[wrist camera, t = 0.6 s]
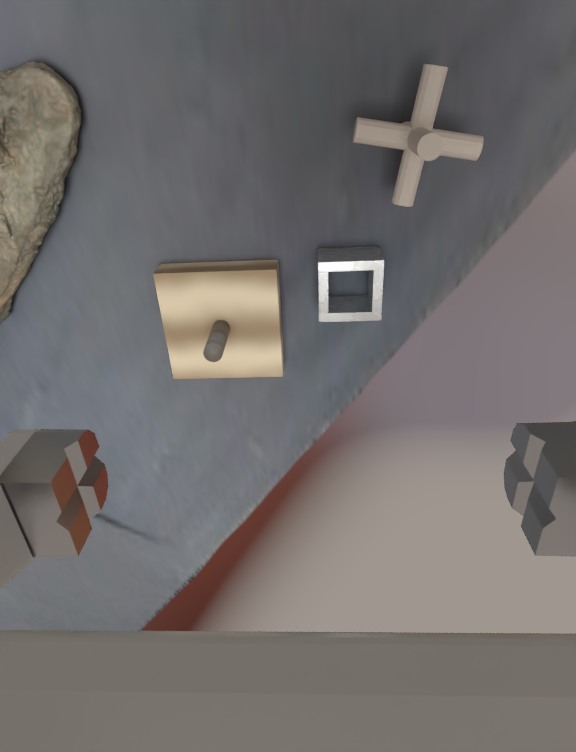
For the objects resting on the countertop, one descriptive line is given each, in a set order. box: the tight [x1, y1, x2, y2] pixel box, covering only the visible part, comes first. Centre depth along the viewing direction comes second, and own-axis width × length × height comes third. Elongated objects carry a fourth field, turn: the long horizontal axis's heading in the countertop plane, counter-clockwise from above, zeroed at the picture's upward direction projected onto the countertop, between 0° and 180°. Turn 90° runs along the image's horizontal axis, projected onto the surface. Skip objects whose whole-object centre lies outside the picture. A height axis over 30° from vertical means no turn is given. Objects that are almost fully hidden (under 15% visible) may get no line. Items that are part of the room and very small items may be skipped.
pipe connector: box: [353, 64, 483, 207], centre depth 39 cm, size 10×10×10 cm
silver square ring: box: [318, 246, 384, 322], centre depth 49 cm, size 6×6×4 cm
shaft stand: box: [153, 259, 284, 379], centre depth 50 cm, size 12×12×8 cm
